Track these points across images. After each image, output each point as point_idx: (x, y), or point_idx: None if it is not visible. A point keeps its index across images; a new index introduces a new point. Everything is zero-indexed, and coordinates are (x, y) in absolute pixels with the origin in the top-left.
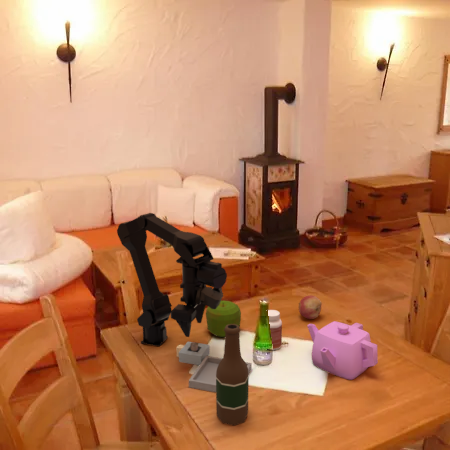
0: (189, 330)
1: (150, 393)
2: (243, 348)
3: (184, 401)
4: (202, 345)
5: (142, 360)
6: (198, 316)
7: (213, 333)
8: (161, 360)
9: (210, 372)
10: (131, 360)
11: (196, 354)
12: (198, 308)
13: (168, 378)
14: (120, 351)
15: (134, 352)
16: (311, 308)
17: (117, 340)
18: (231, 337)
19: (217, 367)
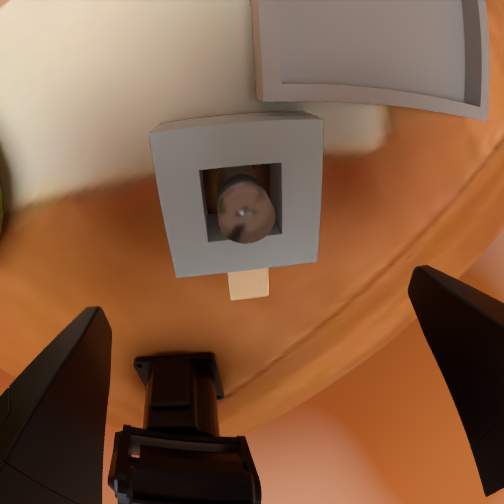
0: (493, 298)
1: (489, 223)
2: (36, 3)
3: None
4: (179, 174)
5: (324, 344)
6: (91, 383)
7: (2, 209)
8: (309, 298)
9: (370, 40)
10: (331, 364)
11: (311, 157)
12: (64, 475)
13: (426, 211)
14: (288, 402)
15: (281, 381)
16: None
17: (234, 428)
18: None
19: (312, 15)
